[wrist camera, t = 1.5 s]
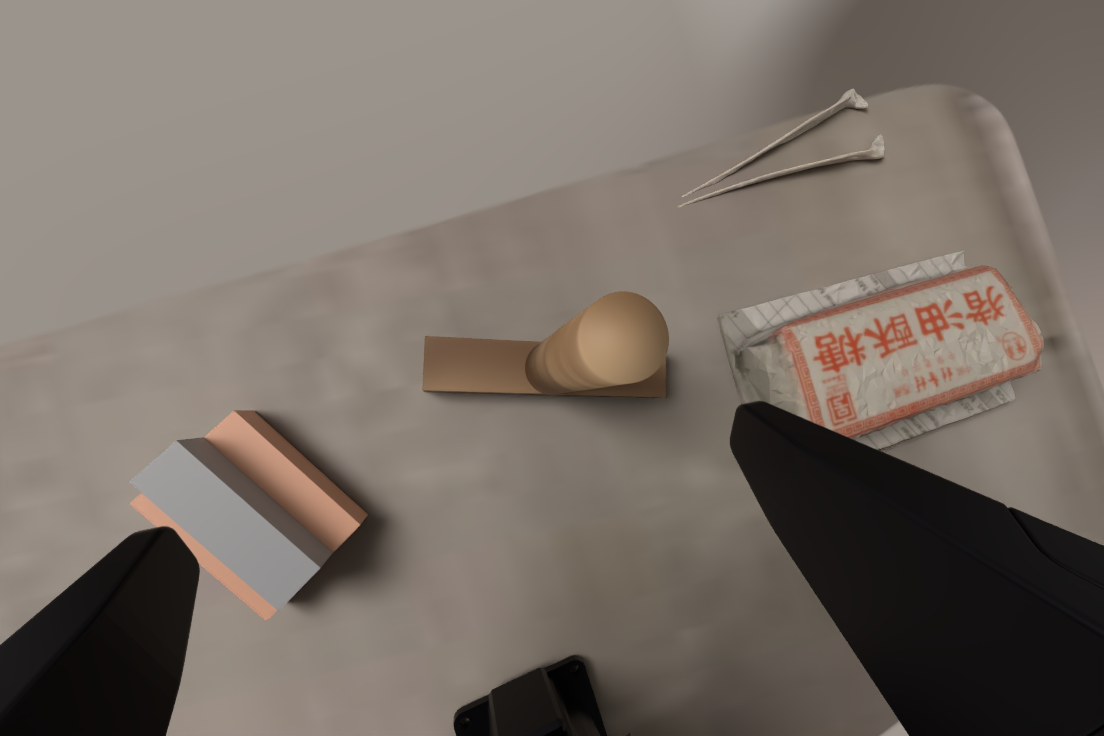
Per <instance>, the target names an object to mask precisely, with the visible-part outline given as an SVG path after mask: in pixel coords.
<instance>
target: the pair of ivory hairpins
mask: <svg viewBox="0 0 1104 736" xmlns="http://www.w3.org/2000/svg"><path fill="white" fill-rule="evenodd" d="M848 107H851V108H856V109H860V110H862V109H865V108H868V104H867V103H866V102H865V100H863V99H862V97H861V96H859V95H857V94H856V92H855V90H854V89H851V90H849V91H848V92H846V93H845V94H844V95H843V96H842V97H841V99H840V100H839V101H838V102H837V103H836V104H835V105H833V106H831V107H830V108H828V109H826V110H825V111H823V112H821V113H819V114H817V115H815V116H814V117H812V118H811V119H809V120H807V121H806V122H804V123H803V124H801V125H800V126H798V127H797V128H795V129H793V130H792V131H791V132H789V133H787V134H786V135H784V136H783V137H781V138H780V139H778V140H777V141H775V142H773V143H772V144H770V145H769V146H767V147H766V148H764V149H762V150H761V151H759V152H758V153H756V154H755V155H753V156H751V157H750V158H748V159H746V160H745V161H743V162H741V163H740V164H738V165H736V166H735V167H733V168H731V169H730V170H727V171H726V172H724V173H722V174H721V175H719V176H717V177H715V178H713V179H712V180H710V181H708V182H707V183H705V184H703V185H701V186H699V187H698V188H696V189H694V190H692V191H690V192H689V193H687V194H685V195H683V196H682V197H684V196H687V195H689V194H691V193H694V192H696V191H697V190H700V189H702V188H704V187H707V186H710V185H713V184H715V183H717V182H719V181H720V180H722V179H724V178H725V177H726V176H728V175H730V174H732V173H734V172H735V171H737V170H738V169H739V168H741V167H742V166H744V165H746V164H747V163H749V162H751V161H752V160H754V159H755V158H757V157H758V156H760V155H761V154H763V153H765V152H767V151H768V150H770V149H772V148H773V147H775V146H777V145H779V144H782V143H785V142H787V141H790V140H791V139H793V138H795V137H796V136H798V135H800V134H802V133H803V132H805V131H807V130H808V129H810V128H812V127H814V126H816V125H817V124H819V123H820V122H822V121H823V120H824V119H826V118H828V117H830V116H831V115H833V114H834V113H836V112H838V111H839V110H841V109H843V108H848ZM884 150H885V147H884V142H883V137H882V135H879V136H878V137H877V138H876V139H875V141H874V142H873V143H872V145H871V147H870V149H869V150H866V151H859V152H853V153H849V154H845V155H839V156H836V157H833V158H830V159H826V160H822V161H818V162H813V163H809V164H805V165H800V166H797V167H793V168H789V169H785V170H781V171H776V172H773V173H770V174H767V175H764V176H760V177H757V178H755V179H751V180H748V181H745V182H742V183H739V184H735V185H733V186H730V187H727V188H723V189H721V190H718V191H716V192H713V193H710V194H707V195H705V196H702V197H699V198H697V199H694V200H691V201H689V202H687V203H684V204H682V205H680V206H678V207H681V206H685V205H688V204H691V203H694V202H697V201H700V200H703V199H707V198H709V197H713V196H716V195H719V194H721V193H724V192H727V191H730V190H733V189H737V188H740V187H743V186H746V185H750V184H753V183H757V182H761V181H764V180H768V179H771V178H775V177H779V176H783V175H787V174H790V173H795V172H799V171H802V170H806V169H810V168H814V167H818V166H823V165H829V164H835V163H840V162H845V161H853V160H862V159H880V158H883V157H884Z"/></svg>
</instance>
